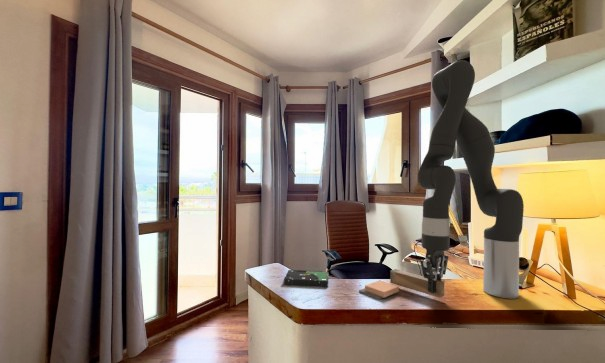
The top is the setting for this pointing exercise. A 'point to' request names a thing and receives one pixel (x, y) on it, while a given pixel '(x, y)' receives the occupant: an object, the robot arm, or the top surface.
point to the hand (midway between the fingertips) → (434, 290)
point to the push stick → (415, 282)
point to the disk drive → (306, 278)
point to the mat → (370, 294)
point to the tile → (382, 288)
